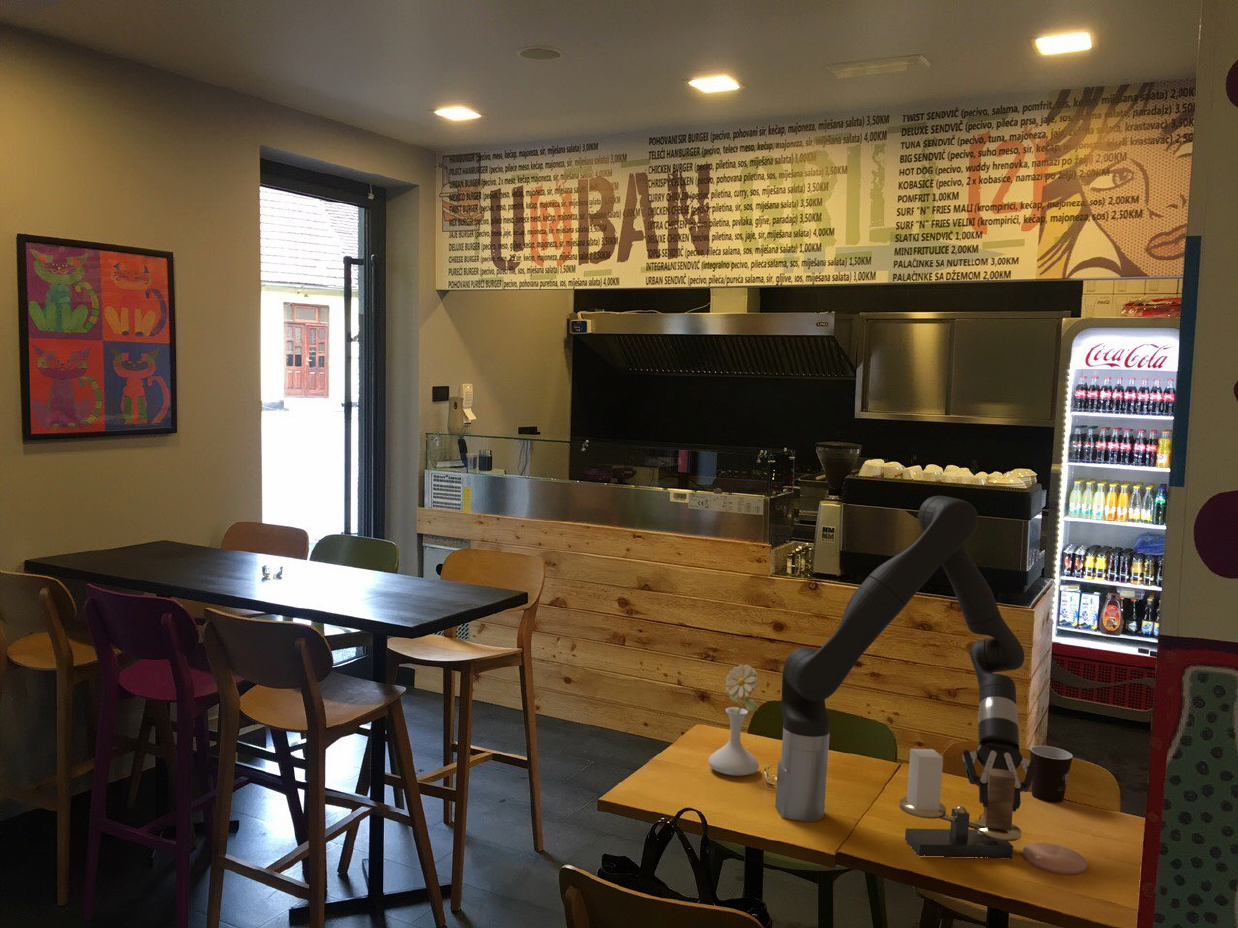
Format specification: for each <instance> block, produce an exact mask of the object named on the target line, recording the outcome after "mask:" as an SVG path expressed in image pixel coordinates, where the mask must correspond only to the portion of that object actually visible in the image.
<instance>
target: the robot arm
mask: <svg viewBox="0 0 1238 928" xmlns="http://www.w3.org/2000/svg"><path fill="white" fill-rule="evenodd" d="M977 511H978V510H976V507H974V506H973V504H971V503H970V502H968V501H966V500H965V499H964V500H963V499H960V498H956V497H951V496H946V495H934V496H931V497H928V498H927V499H926V500H925V501H923V503H922V504H921V505H920V508H919V510H918V516H917V517H918V524H919V526H920V528H921V530H922V532H923V533H921V535H920V536H919V538H917V539H916V541H915V542H913V543H912V544H911V545H910V546H909V547H908V548H906V549H904V550H903V551H902V552H900V553H899V554H897V555H895V556H893V557H892V558H890V559H887V561H885V562H884V563H882V564H880V565H879V566H878V567H876V568H875V569H874V570H873V571H872V572H871V573H870V574H869V575H868V576H867V577H866V578H865V580H864V581H862V583H861V584H860V585H859V586H858V587H857V589H856V590H855V591H854V592H853V594H852V595H851V597H850V598H849V601H848V603H847V605H846V607H845V610H844V613H843V614H842V618H841V621H840V622H839V624H838V626H837V628H836V629H835V631H834V633H833V634H832V635H831V636H830V637H829V638H828V639H827V640H826V642H825V643H824V644H823V645H822V646H821V647H820V648H819V649H814V648H812V647H808V646H806V647H805V646H804V647H799V648H796V649H795V650H793V651H791V653H789V655H788V656H786V657H787V658H786V659H785V662H784V664H783V669H782V678H781V679H782V681H781V712H782V717H783V727H782V742H781V759H780V760H778V762H777V773H776V784H775V785H776V787H775V801H774V802H775V803H774V806H775V809H776V810H777V811H778V813H779V815H780V816H781V818H783V819H791V820H793V821H794V820H795V821H799V822H816V821H819V820H822V819H823V818H824V815H825V807H826V806H825V805H826V804H825V803H826V792H827V791H826V790H827V777H828V760H829V759H828V758H829V747H830V733H831V732H830V731H831V719H830V715H829V713H828V711H827V707H826V700H827V699H829V698H830V697H831V696H832V695H833V694H834V693H835V692H836V691H837V690H838V688H839V687H840V686H841V684H843V681H844V680H845V679H846V677H847V676H848V675H849V673H850V672H851V670H852V669H853V668H854V666H855V665H856V663H857V661H858V660H859V659H860V658H861V657H862V655H863V654H864V653H865V652H866V651H867V649H869V648H870V646H871V645H872V644H873V643H874V641H875V640H876V639H878V637H879V636H880V635H881V633H882V632H883V631H884V630H885V629H886V628H887V626H889V624H891V622H892V621H893V620H895V618H896V617H897V616H898V615H899V614H900V613H901V611H902V610H903V609H904V608H905V607H906V605H907V604H909V602H910V600H911V599H912V598H913V597H914V596H915V595H916V594H917V593H918V591H919V590H920V589H921V588H922V587H923V586H924V585H925V584H926V583H927V582H928V581H929V579H930V578H931V577H932V575H934V573H936V571H937V570H938V569H939V568H940V567H941V566H942V568H943V570H944V572H945V574H946V576H947V578H948V580H949V583H950V584H951V585H950V586H951V587H952V589H953V592H954V594H955V597H956V599H957V602H958V605H959V607H960V609H961V610H960V611H961V612H962V615H963V618H964V620H965V623H966V625H967V628H968V630H969V632H971V633H973V634H975V635H982V636H989V637H991V638H983V639H978V640H976V641H974V642H973V644H972V645H971V647H970V649H969V657H970V661H971V663H972V667H973V668H974V672H975V675H976V679H977V683H978V690H979V691H978V694H979V695H978V697H979V698H978V699H979V705H978V706H979V708H978V713H977V731H978V732H977V733H978V734H977V737H978V740H977V742H978V746H977V749H976V751H969V749H965V750H963V752H962V757H961V759H962V762H963V763H962V764H963V767H964V770H965V773H966V777H967V779H968V782H969V783H970V784H971V785H975V786H977V787H978V800H979V804H982V807H983V808H984V807H987V805H988V785H987V780H988V768H990V769H992V768H997V769H1004V770H1009V771H1011V772H1013V773H1014V776H1015V791H1014V802H1013V813H1014V812H1015V813H1016V812H1017V810H1019V809H1020V806H1021V792H1022V793H1023V792H1024V793H1028V792H1029V790H1030V788H1031V786H1032V785H1031V782H1032V778H1033V775H1034V772H1035V768H1036V765H1037V761H1036V760H1034V759H1032V760H1031V761H1030V759H1027V758H1024V757H1023V754H1021V750H1020V729H1019V728H1020V727H1019V714H1018V713H1019V712H1018V709H1017V688H1016V683H1015V682H1014V679H1012V678H1011V677H1009V676H1007V675H1004V674H1000V673H1001V672H1007V671H1008V672H1009V671H1014V670H1016V671H1017V670H1019V669H1020V668H1021V667H1023V664H1024V663H1025V657H1026V655H1025V652H1024V651H1025V650H1024V648H1023V645H1022V643H1021V642H1020V640H1019V639H1018V637H1016V635H1015V634H1014V633H1013V631H1012V630H1011V629H1010V627H1009V626H1008V624H1007V623H1006V621H1005V620H1004V618H1003V616H1002V614H1001V613H1000V610H999V606H998V603H997V601H996V599H995V595H994V593H993V591H992V589H991V587H990V585H989V584H988V582H987V580H986V579H985V577H984V576H983V574H982V573H981V571H980V570H979V568H978V567H977V565H976V564H975V563H974V561H973V559H972V558H971V556H970V553H969V552H968V550H967V548H966V545H965V544H966V543H967V542H968V541H969V540H970V539H971V538H972V536H973V535H974V533H975V532H976V529H977V527H978V523H979V516H978V515H979V514H978V512H977ZM976 759H977V760H978V762H979V763H980V764H981V766H982V767H983V771H982V774H981V776H979V775H978V774H977V772H976V768H975V765H974V764H975V761H976ZM1020 765H1022V767H1023V770H1024V772H1025V777H1024V780H1023V781H1021V782H1020V780H1019V777H1018V773H1017V769H1018V767H1019V766H1020Z"/></svg>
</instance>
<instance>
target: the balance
mask: <svg viewBox="0 0 1238 928" xmlns="http://www.w3.org/2000/svg"><path fill="white" fill-rule="evenodd" d="M899 808H900V810H901V811H903V812H905V814H908V815H910V816H914V817H918V818H922V819H932V820H935V819H940V820H944V821H948V822H950V828H948V829H947V828H945V829H944V828H910V827H909V828H908V827H907V828H906V827H905V836H904V841H905V840H906V841H907V843H908V844H909V845H910V846H911V847H912V849H913V850H914V851H915V852H916V854H917V855H919V856H924V855H925V856H944V857H974V858H973V859H975V857H978V858H980V857H983V858H985V857H986V858H987V857H988V858H1010V859H1009V860H1012V859H1013V853H1014V852H1013V851H1014V845H1013V844H1012V843H1011V842H1016V841H1019V840H1021V837H1022V829H1020V828H1019V827H1018V826H1017V825H1016V824H1013V823H1012V826H1011V831H1008V830H1001V829H995V828H988V827H985V823H984V819H983V818H980V819H976V820H975V821H974V822H972V821H970V812H968V811H967V809H966V808H965V806H963V805H957V806H956V807H955V808H951V815H950V814H949V815H948V814H947V808H946V805H944V804H943V803H941V802H940V806H939V810H915V808H914V807H913V806H912V805H911V804H910V803H909V802H908V801H907V796H906V797H905V796H904V797H902V798H901V799H899ZM969 828H970V829H969ZM907 843H906V844H907ZM908 844H907V845H908ZM909 845H908V846H909ZM912 849H911V850H912ZM913 850H912V851H913ZM914 851H913V852H914ZM915 852H914V853H915ZM916 854H915V855H916ZM917 855H916V856H917Z"/></svg>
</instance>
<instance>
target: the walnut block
mask: <svg viewBox="0 0 1238 928" xmlns="http://www.w3.org/2000/svg"><path fill="white" fill-rule="evenodd" d="M987 785H988V805H987V807H983V818H982V819H984V823H985V827H988V828H995V829H1001V830H1008V831H1011V826H1012V824H1013V813H1014V811H1013V802H1014V791H1015V776H1014V773H1013V772H1011V771H1009V770H1004V769H997V768H992V769H990V768H988V780H987Z"/></svg>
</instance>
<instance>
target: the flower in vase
mask: <svg viewBox="0 0 1238 928" xmlns="http://www.w3.org/2000/svg"><path fill="white" fill-rule="evenodd" d="M728 672H729V673H728V674H727V676H726V679H725V682H726V683H725V686H726V687H725V692H726V693H727V695H728V696H729V699H730V700H732V702H734V703H736V704H737V705H738V706H739V707H733V706H731V707H727V708H725V712H726V714H727V716H728V718H729V725H730V727H729V729H730V734H729V739H728V741H727V743H726V744H724V745H723V746H721V748H719V749H717V750H715V751H714V752H713V753H712V754H711V755H710V756H709V758H708V760H707V763H708V765H709V767H710V768H711V769H712V770H714V771H716V772H718V773H721V774H724V775H727V776H737V777H738V776H747V775H752V774H755V773H756V772H757V771H758V770H759V768H760V766H759V762H758V760H757V758H756V757H755V756H754V755H753V754H752V753H751V752H750V751H748V750H747V749H746V748H745V747H744V746H743V744H742V742H741V730H742V724H743V722H744V719H745V717H746V716H747V715H748V713H749V712H758V711H759V709H758V707H757V705H756V703H755V700H754V699H748V698H749V696H751V695H752V692H755V690H756V688H757V687H758V686H759V682H758V680H759V677H758V676H759V674H758V672H757V671H756V670H755V669H754V668H753V667H752V666H750V665H749V664H745V665H743V664H740V665H739V666H734V667H733V669H732V670H729V671H728ZM741 698H743V699H744V701H743V703H742V704H741V703H740V702H739V700H740V699H741ZM744 706H745V708H743V707H744Z"/></svg>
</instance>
